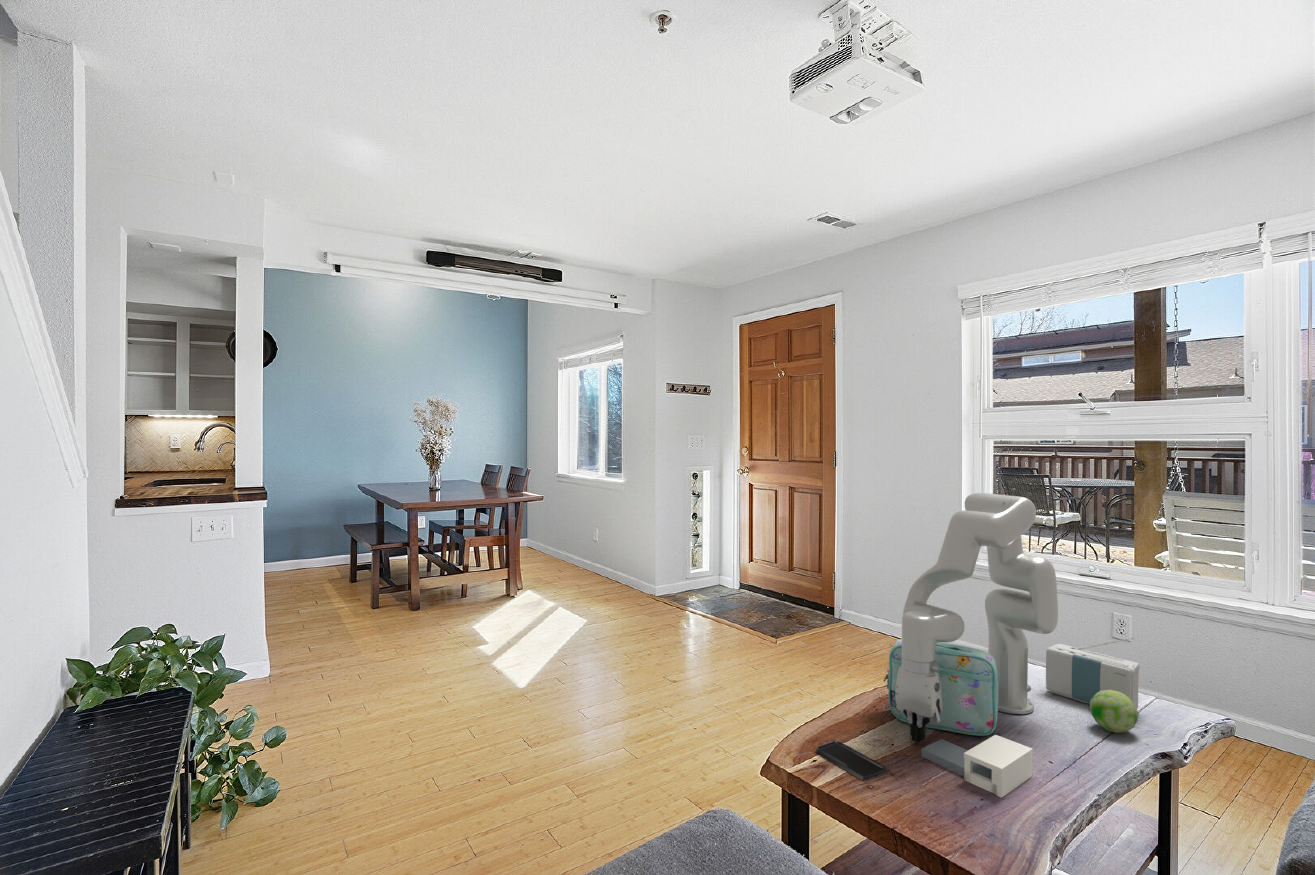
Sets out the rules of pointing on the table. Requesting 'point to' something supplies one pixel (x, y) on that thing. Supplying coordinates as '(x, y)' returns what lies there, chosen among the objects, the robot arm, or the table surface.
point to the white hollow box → (999, 764)
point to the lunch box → (957, 688)
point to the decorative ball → (1113, 711)
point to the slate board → (952, 758)
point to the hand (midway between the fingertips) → (917, 740)
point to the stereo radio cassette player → (1089, 673)
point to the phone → (851, 760)
